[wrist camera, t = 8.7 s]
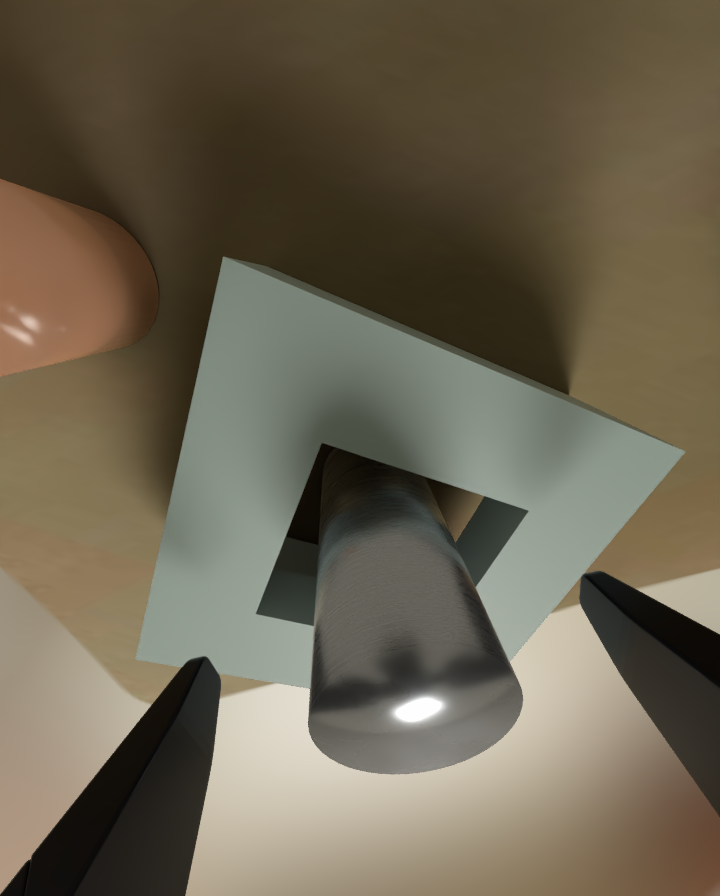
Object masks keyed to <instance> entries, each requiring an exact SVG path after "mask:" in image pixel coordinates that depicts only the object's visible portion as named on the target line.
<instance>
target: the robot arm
mask: <svg viewBox="0 0 720 896" xmlns="http://www.w3.org/2000/svg"><path fill="white" fill-rule="evenodd" d="M579 599H580V604H581V606H582V609H583V610H584V612H585V614H586V616H587V617H588V619H589V621H590V623H591V624H592V626H593V628H594V630H595V631H596V633H597V635H598V636H599V638H600V640H601V642H602V643H603V645H604V647H605V649H606V651H607V652H608V654H609V656H610V657H611V659H612V661H613V663H614V665H615V666H616V668H617V669H618V671H619V673H620V674H621V676H622V678H623V679H624V681H625V682H626V684H627V685H628V686H629V688H630V689H631V691H632V692H633V694H634V695H635V697H636V698H637V700H638V701H639V702H640V704H641V705H642V707H643V708H644V710H645V711H646V712H647V714H648V715H649V717H650V718H651V720H652V721H653V722H654V724H655V725H656V727H657V728H658V730H659V731H660V732H661V734H662V735H663V737H664V738H665V740H666V741H667V742H668V744H669V745H670V747H671V748H672V750H673V751H674V752H675V754H676V755H677V757H678V758H679V760H680V761H681V762H682V764H683V765H684V767H685V768H686V770H687V771H688V772H689V774H690V775H691V777H692V778H693V779H694V781H695V782H696V784H697V785H698V787H699V788H700V790H701V791H702V792H703V794H704V795H705V796H706V798H707V800H708V801H709V802H710V804H711V805H712V807H713V808H714V809H715V811H716V812H717V814H718V815H719V817H720V634H718V633H716V632H714V631H712V630H710V629H709V628H707V627H705V626H703V625H701V624H699V623H697V622H696V621H693V620H692V619H690V618H688V617H686V616H684V615H683V614H680V613H679V612H677V611H675V610H673V609H671V608H670V607H668V606H666V605H664V604H662V603H660V602H658V601H657V600H655V599H653V598H651V597H649V596H647V595H645V594H644V593H642V592H640V591H638V590H636V589H634V588H632V587H631V586H629V585H627V584H625V583H623V582H621V581H620V580H618V579H616V578H614V577H612V576H610V575H608V574H607V573H604V572H602V571H594V572H590V573H585V574H583V575H582V576H581V583H580V596H579ZM220 690H221V679H220V676H219V674H218V672H217V671H216V669H215V668H214V666H213V664H212V663H211V661H210V660H209V658H208V657H206V656H201V657H197V658H192V659H190V660H188V661H187V662H186V663H185V664H184V665H183V666H182V668H181V669H180V670H179V671H178V673H177V674H176V675H175V676H174V678H173V679H172V680H171V681H170V683H169V684H168V685H167V686H166V688H165V689H164V690H163V691H162V693H161V694H160V695H159V696H158V698H157V699H156V700H155V702H154V703H153V704H152V705H151V707H150V708H149V709H148V710H147V712H146V713H145V714H144V716H143V717H142V718H141V719H140V721H139V722H138V723H137V724H136V725H135V727H134V728H133V729H132V730H131V732H130V733H129V734H128V735H127V737H126V738H125V739H124V740H123V742H122V743H121V744H120V745H119V747H118V748H117V749H116V751H115V752H114V753H113V754H112V755H111V757H110V758H109V759H108V760H107V762H106V763H105V764H104V765H103V767H102V768H101V769H100V771H99V772H98V773H97V774H96V775H95V777H94V778H93V779H92V780H91V782H90V783H89V784H88V785H87V787H86V788H85V789H84V790H83V792H82V793H81V794H80V795H79V797H78V798H77V799H76V800H75V802H74V803H73V804H72V806H71V807H70V808H69V809H68V810H67V812H66V813H65V814H64V816H63V817H62V818H61V819H60V820H59V822H58V823H57V824H56V825H55V827H54V828H53V829H52V831H51V832H50V833H49V834H48V835H47V837H46V838H45V839H44V840H43V842H42V843H41V844H40V846H39V847H38V848H37V849H36V851H35V852H34V853H33V855H32V857H31V860H28V861H27V862H26V863H25V864H24V865H23V867H22V868H21V869H20V870H19V872H18V873H17V874H16V875H15V877H14V878H13V879H12V880H11V882H10V883H9V884H8V886H7V887H6V888H5V889H4V890H3V892H2V893H1V894H0V896H185V894H186V889H187V884H188V879H189V874H190V869H191V864H192V859H193V854H194V850H195V845H196V840H197V835H198V830H199V825H200V820H201V815H202V811H203V806H204V800H205V796H206V791H207V786H208V781H209V776H210V771H211V765H212V758H213V752H214V742H215V734H216V725H217V717H218V708H219V699H220Z"/></svg>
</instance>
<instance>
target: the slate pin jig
mask: <svg viewBox="0 0 720 896" xmlns="http://www.w3.org/2000/svg"><path fill="white" fill-rule="evenodd" d="M322 443H324V444H327V445H330V446H333V447H336V448H339V449H342V450H345V451H348V452H351V453H355V454H358V455H361V456H364V457H367V458H370V459H373V460H376V461H379V462H382V463H385V464H388V465H391V466H394V467H397V468H400V469H403V470H406V471H409V472H413V473H416V474H419V475H422V476H425V477H428V478H431V479H434V480H437V481H440V482H443V483H446V484H449V485H452V486H455V487H458V488H461V489H464V490H467V491H470V492H474V493H477V494H480V495H483V496H485V497H484V498H483V500H482V502H481V503H480V505H479V506H478V508H477V510H476V511H475V513H474V514H473V516H472V518H471V519H470V521H469V522H468V524H467V526H466V527H465V529H464V530H463V532H462V534H461V535H460V537H459V538H458V540H457V542H456V543H455V544H456V546H457V548H458V550H459V552H460V555H461V557H462V559H463V561H464V563H465V566H466V568H467V570H468V572H469V574H470V577H471V579H472V581H473V583H474V585H475V588H476V590H477V592H478V594H479V596H480V598H481V601H482V603H483V605H484V607H485V609H486V612H487V614H488V616H489V618H490V620H491V623H492V625H493V627H494V629H495V631H496V633H497V636H498V638H499V640H500V642H501V644H502V647H503V649H504V651H505V653H506V655H507V658H508V660H509V662H510V661H511V659H512V658H513V657H514V656H515V655H516V654H517V652H518V651H519V650H520V649H521V648H522V646H523V645H524V644H525V643H526V642H527V640H528V639H529V638H530V637H531V636H532V635H533V633H534V632H535V631H536V630H537V628H538V627H539V626H540V625H541V624H542V623H543V621H544V620H545V619H546V618H547V617H548V615H549V614H550V613H551V612H552V611H553V609H554V608H555V607H556V606H557V605H558V603H559V602H560V601H561V600H562V599H563V597H564V596H565V595H566V594H567V593H568V591H569V590H570V589H571V588H572V587H573V586H574V584H575V583H576V582H577V581H578V580H579V578H580V577H581V576H582V575H583V574H584V572H585V571H586V570H587V569H588V568H589V566H590V565H591V564H592V563H593V562H594V560H595V559H596V558H597V557H598V556H599V554H600V553H601V552H602V551H603V550H604V548H605V547H606V546H607V545H608V544H609V542H610V541H611V540H612V539H613V538H614V537H615V535H616V534H617V533H618V532H619V531H620V529H621V528H622V527H623V526H624V525H625V523H626V522H627V521H628V520H629V519H630V517H631V516H632V515H633V514H634V513H635V511H636V510H637V509H638V508H639V507H640V505H641V504H642V503H643V502H644V501H645V499H646V498H647V497H648V496H649V495H650V493H651V492H652V491H653V490H654V489H655V488H656V486H657V485H658V484H659V483H660V482H661V480H662V479H663V478H664V477H665V476H666V474H667V473H668V472H669V471H670V470H671V468H672V467H673V466H674V465H675V464H676V462H677V461H678V460H679V459H680V458H681V456H682V455H683V454H684V453H685V452H686V451H684V450H682V449H679V448H677V447H675V446H673V445H671V444H669V443H667V442H665V441H663V440H661V439H659V438H657V437H655V436H652V435H650V434H648V433H646V432H644V431H642V430H640V429H638V428H636V427H634V426H632V425H630V424H627V423H625V422H623V421H621V420H619V419H617V418H615V417H613V416H611V415H609V414H607V413H605V412H603V411H600V410H598V409H596V408H594V407H592V406H590V405H588V404H586V403H584V402H582V401H580V400H578V399H576V398H573V397H571V396H569V395H567V394H565V393H562V392H560V391H558V390H555V389H553V388H551V387H548V386H546V385H543V384H541V383H539V382H536V381H534V380H532V379H529V378H527V377H525V376H522V375H520V374H518V373H515V372H513V371H511V370H508V369H506V368H504V367H501V366H499V365H497V364H494V363H492V362H490V361H487V360H485V359H483V358H480V357H478V356H476V355H473V354H471V353H469V352H466V351H464V350H462V349H459V348H457V347H455V346H452V345H450V344H448V343H445V342H443V341H441V340H438V339H436V338H434V337H431V336H429V335H426V334H424V333H422V332H419V331H417V330H415V329H412V328H410V327H408V326H405V325H403V324H401V323H398V322H396V321H394V320H391V319H389V318H387V317H384V316H382V315H380V314H377V313H375V312H373V311H370V310H368V309H366V308H363V307H361V306H359V305H356V304H354V303H352V302H349V301H347V300H345V299H342V298H340V297H338V296H335V295H333V294H331V293H328V292H326V291H324V290H321V289H319V288H316V287H314V286H312V285H309V284H307V283H305V282H302V281H300V280H298V279H295V278H293V277H291V276H288V275H286V274H284V273H281V272H279V271H277V270H274V269H272V268H270V267H267V266H264V265H259V264H255V263H250V262H246V261H241V260H237V259H233V258H228V257H224V256H223V260H222V264H221V269H220V274H219V278H218V283H217V287H216V292H215V297H214V301H213V306H212V310H211V315H210V319H209V324H208V329H207V333H206V338H205V342H204V347H203V352H202V356H201V361H200V365H199V370H198V375H197V379H196V384H195V388H194V393H193V397H192V402H191V407H190V411H189V416H188V420H187V425H186V430H185V434H184V439H183V443H182V448H181V453H180V457H179V462H178V466H177V471H176V476H175V480H174V485H173V489H172V494H171V498H170V503H169V508H168V512H167V517H166V521H165V526H164V531H163V535H162V540H161V544H160V549H159V554H158V558H157V563H156V567H155V572H154V576H153V581H152V586H151V590H150V595H149V599H148V604H147V609H146V613H145V618H144V622H143V627H142V632H141V636H140V641H139V645H138V650H137V655H136V659H135V660H141V661H147V662H153V663H159V664H165V665H171V666H177V667H182V666H183V665H184V664H185V663H186V662H187V661H188V660H190V659H192V658H197V657H201V656H206V657H208V658H209V660H210V661H211V663H212V664H213V666H214V668H215V669H216V671H217V672H218V673H219V674H225V675H231V676H237V677H243V678H249V679H255V680H261V681H267V682H273V683H279V684H285V685H291V686H297V687H303V688H309V689H310V684H311V666H312V649H313V632H314V615H315V597H316V580H317V563H318V546H319V545H316V544H312V543H308V542H304V541H300V540H296V539H293V538H289V537H286V534H287V532H288V529H289V526H290V524H291V521H292V519H293V516H294V513H295V511H296V508H297V506H298V503H299V501H300V498H301V495H302V493H303V490H304V488H305V485H306V482H307V480H308V477H309V475H310V472H311V469H312V467H313V464H314V462H315V459H316V457H317V454H318V451H319V449H320V446H321V444H322Z"/></svg>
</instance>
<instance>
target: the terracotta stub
mask: <svg viewBox="0 0 720 896" xmlns="http://www.w3.org/2000/svg"><path fill="white" fill-rule="evenodd" d="M158 303H159V291H158V285H157V280H156V276H155V273H154V270H153V268H152V265H151V263H150V261H149V259H148V257H147V255H146V254H145V252H144V251H143V249H142V248H141V246H140V245H139V244H138V242H137V241H136V240H135V239H134V238H133V236H131V235H130V234H129V233H128V232H127V231H126V230H125V229H124V228H123V227H122V226H120V225H119V224H118V223H117V222H115V221H113V220H112V219H110V218H109V217H107V216H105V215H103V214H101V213H99V212H96V211H93V210H90V209H87V208H84V207H81V206H79V205H76V204H73V203H70V202H67V201H64V200H61V199H58V198H55V197H52V196H49V195H46V194H43V193H40V192H37V191H35V190H32V189H29V188H26V187H23V186H20V185H17V184H14V183H11V182H8V181H5V180H2V179H0V376H5V375H9V374H13V373H18V372H22V371H26V370H30V369H34V368H39V367H43V366H47V365H51V364H56V363H60V362H64V361H68V360H72V359H77V358H81V357H85V356H89V355H94V354H98V353H102V352H106V351H110V350H115V349H119V348H123V347H127V346H129V345H132V344H134V343H135V342H137V341H139V340H140V339H141V338H142V337H143V336H144V335H145V334H146V333H147V332H148V331H149V329H150V328H151V326H152V325H153V323H154V320H155V318H156V314H157V310H158Z"/></svg>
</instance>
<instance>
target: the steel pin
mask: <svg viewBox="0 0 720 896" xmlns="http://www.w3.org/2000/svg"><path fill="white" fill-rule="evenodd" d="M522 703H523V695H522V689H521V687H520V684H519V682H518V679H517V677H516V675H515V673H514V671H513V669H512V667H511V664H510V662H509V660H508V658H507V655H506V653H505V651H504V649H503V647H502V644H501V642H500V640H499V638H498V636H497V633H496V631H495V629H494V627H493V625H492V623H491V620H490V618H489V616H488V614H487V612H486V609H485V607H484V605H483V603H482V601H481V598H480V596H479V594H478V592H477V590H476V588H475V585H474V583H473V581H472V579H471V577H470V574H469V572H468V570H467V568H466V566H465V563H464V561H463V559H462V557H461V555H460V552H459V550H458V548H457V546H456V544H455V542H454V539H453V537H452V535H451V533H450V531H449V528H448V526H447V524H446V522H445V520H444V517H443V515H442V513H441V511H440V509H439V506H438V504H437V502H436V500H435V498H434V496H433V493H432V491H431V489H430V487H429V485H428V482H427V480H426V478H425V476H422V475H419V474H416V473H413V472H409V471H406V470H403V469H400V468H397V467H394V466H391V465H388V464H385V463H382V462H379V461H376V460H373V459H370V458H367V457H364V456H361V455H358V454H355V453H351V452H348V451H345V450H342V449H339V448H336V447H335V448H334V449H333V450H332V451H331V453H330V454H329V456H328V457H327V459H326V462H325V464H324V468H323V477H322V494H321V511H320V528H319V546H318V563H317V580H316V597H315V615H314V632H313V649H312V666H311V684H310V702H309V718H308V727H309V733H310V735H311V738H312V740H313V742H314V743H315V745H316V746H317V747H318V748H319V749H320V751H322V753H324V754H325V755H327V756H328V757H329V758H330V759H332V760H334V761H336V762H338V763H340V764H342V765H344V766H347V767H350V768H353V769H357V770H360V771H366V772H371V773H379V774H409V773H420V772H426V771H431V770H436V769H440V768H444V767H448V766H451V765H454V764H457V763H460V762H462V761H465V760H467V759H469V758H471V757H473V756H476V755H478V754H480V753H481V752H483V751H485V750H487V749H488V748H490V747H491V746H492V745H494V744H495V743H496V742H498V741H499V740H500V739H501V738H503V737H504V735H506V734H507V733H508V731H509V730H510V729H511V728H512V727H513V725H514V724H515V722H516V721H517V719H518V717H519V715H520V712H521V708H522Z"/></svg>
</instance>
